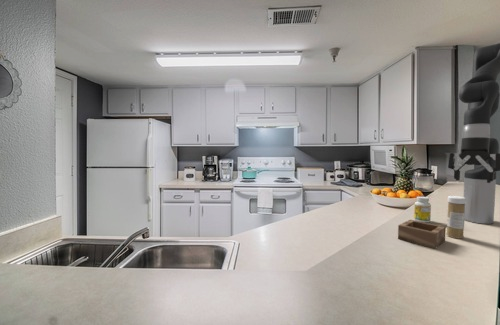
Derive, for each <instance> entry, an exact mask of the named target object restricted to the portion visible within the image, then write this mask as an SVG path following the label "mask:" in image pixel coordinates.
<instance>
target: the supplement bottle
mask: <svg viewBox="0 0 500 325" xmlns="http://www.w3.org/2000/svg"><path fill="white" fill-rule="evenodd" d="M429 201H430V198H429V197H427V196H416V201H415V202H414V217H413V218H414V219H413V220H414V221H419V222H424V223H431V215H432V214H431V210H432V204H431V203H430V202H429Z"/></svg>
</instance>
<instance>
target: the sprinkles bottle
mask: <svg viewBox="0 0 500 325" xmlns="http://www.w3.org/2000/svg"><path fill="white" fill-rule="evenodd" d="M447 203H448V205H447V218H446V220H447V221H446V226H447V227H446V232H445V235H446V236H448V237H450V238H453V239H464V238H465V236H464V230H465V220H464V218H465V203H466V198H464V196H461V195H460V196H459V195H449V196H447Z"/></svg>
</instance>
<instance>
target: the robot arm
mask: <svg viewBox="0 0 500 325" xmlns="http://www.w3.org/2000/svg"><path fill="white" fill-rule="evenodd" d="M472 59H473V60H472V74H471V75H472V76H471V79H469V80H467V82H465V83H464V84H463V85H462V86H461V87H460V90H459V91H458V99H459V101H461V102H462V103H464V104H467V110H465V111H464V116H463V125H462V126H463V127H462V131H461V146H460V152H459V153H454V152H451V153H450V152H449V158H448V163H447V164H448V166H447V167H448V169H451V170H453V179H455V181H458V182H459V181H460V178H461V169H462V168H463V167H464V166H465V165H467V166H472V165H474V166H480V167H476V168H472V169H468V170H466V171H465V172H464V174H463V175H464V179H463V197H464V198H466V203H465V218H464V221H466V222H471V223H477V224H483V225H492V224H494V222H495V221H494V220H495V206H496V187H497V186H496V183H497V180H496V179H497V172H500V153H499V152H500V151H499V150H500V144H499V140H498V139H497V138H494V137H491V127H490V126H491V122H490V121H491V118H492V117H493V116H494V115H495V113H496V112H497V111H498V108H499V104H500V103H499V102H500V84H499V83H498V82H497V79H498V76H499V73H500V42H499V43H495V44H491V45H487V46H486V45H485V46H483V47H480V48H477V49H476V50H475V51H474V54H473V58H472ZM458 157H459V158H460V159H461V160H460V162H459V163H458V164H456V166H455V161H456V159H458Z"/></svg>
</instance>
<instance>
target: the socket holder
mask: <svg viewBox="0 0 500 325" xmlns="http://www.w3.org/2000/svg"><path fill="white" fill-rule="evenodd" d="M446 232H447V227H446V226H444V225H439V224H434V223H430V222H428V223H425V222H419V221H416V220H415V219H409V220H407V221H405V222H402V223H400V224H399V225H398V229H397V239H398V240H401V241H404V242H408V243H413V244H415V245H416V244H417V245H420V246H424V247H427V248H431V249H437V248H438V247H439V246H440V245H441V244H443V243H444V242H445V241H446ZM436 247H437V248H436Z"/></svg>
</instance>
